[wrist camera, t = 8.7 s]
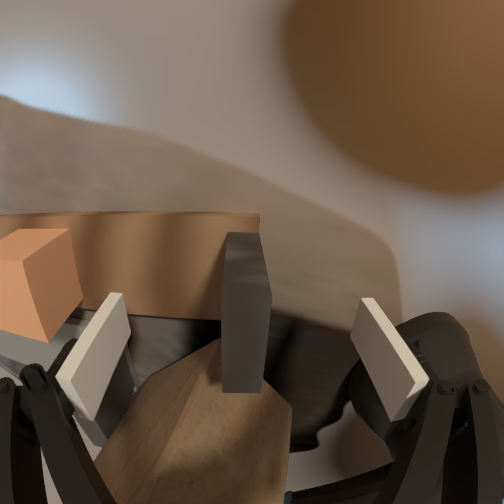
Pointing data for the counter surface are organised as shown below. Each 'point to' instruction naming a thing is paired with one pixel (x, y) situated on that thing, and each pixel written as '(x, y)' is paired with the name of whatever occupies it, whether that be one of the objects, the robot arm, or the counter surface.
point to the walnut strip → (175, 273)
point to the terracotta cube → (37, 282)
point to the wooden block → (198, 440)
